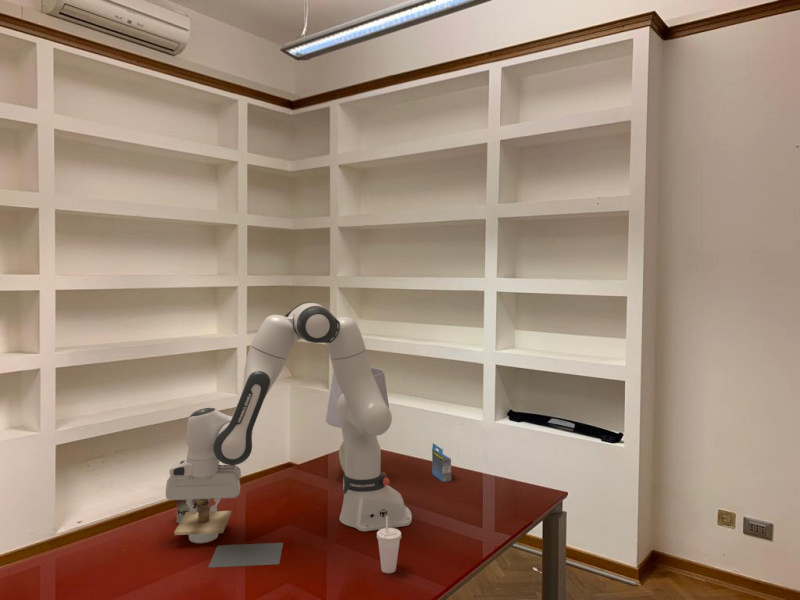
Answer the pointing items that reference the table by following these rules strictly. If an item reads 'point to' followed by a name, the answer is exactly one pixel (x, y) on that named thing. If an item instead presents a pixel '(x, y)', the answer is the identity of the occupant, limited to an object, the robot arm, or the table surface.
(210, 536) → the ramekin
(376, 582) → the table surface
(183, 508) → the coffee box
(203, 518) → the lid
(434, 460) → the label tape box
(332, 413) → the lamp
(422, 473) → the table surface
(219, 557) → the mat
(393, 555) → the smoothie
